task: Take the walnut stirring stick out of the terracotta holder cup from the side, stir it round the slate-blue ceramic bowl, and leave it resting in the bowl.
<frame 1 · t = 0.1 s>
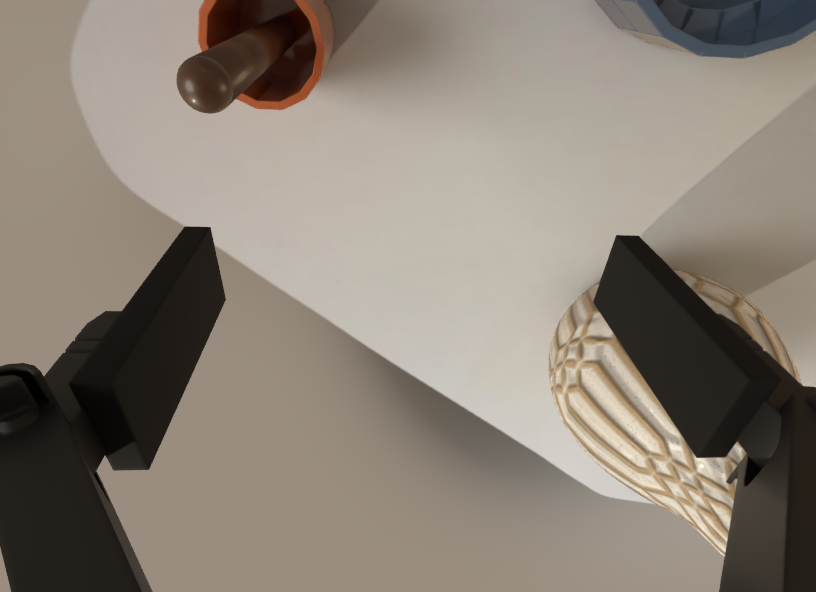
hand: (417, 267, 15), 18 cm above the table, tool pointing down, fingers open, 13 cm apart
vase: (615, 315, 41), on the table
holder: (285, 30, 27), on the table
stick: (284, 31, 26), point 1 cm above the table, touching holder
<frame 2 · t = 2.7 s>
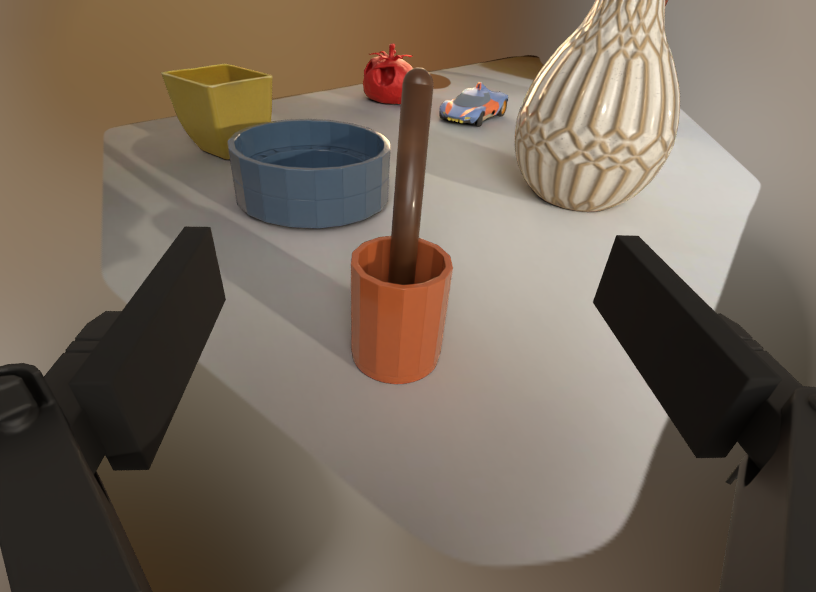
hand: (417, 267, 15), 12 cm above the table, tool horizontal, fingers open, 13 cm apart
vase: (572, 197, 53), on the table
holder: (395, 352, 30), on the table
flower pot: (230, 153, 58), on the table
toy car: (470, 118, 79), on the table
bowl: (314, 199, 48), on the table
stick: (395, 345, 29), point 1 cm above the table, tilted 15°, touching holder
pomegranate: (388, 101, 85), on the table
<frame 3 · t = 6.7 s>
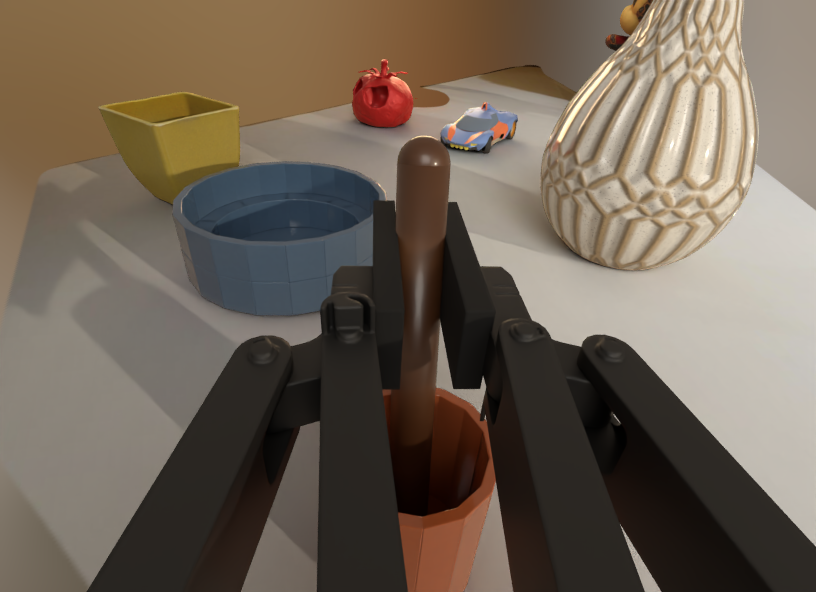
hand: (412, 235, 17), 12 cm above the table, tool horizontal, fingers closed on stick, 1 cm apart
vase: (610, 249, 43), on the table
stuffed monkey: (617, 127, 82), on the table
holder: (405, 549, 19), on the table
flower pot: (191, 199, 47), on the table
toy car: (475, 143, 69), on the table
bowl: (291, 265, 38), on the table
stick: (405, 544, 19), point 1 cm above the table, tilted 15°, touching gripper, holder
pomegranate: (381, 123, 75), on the table
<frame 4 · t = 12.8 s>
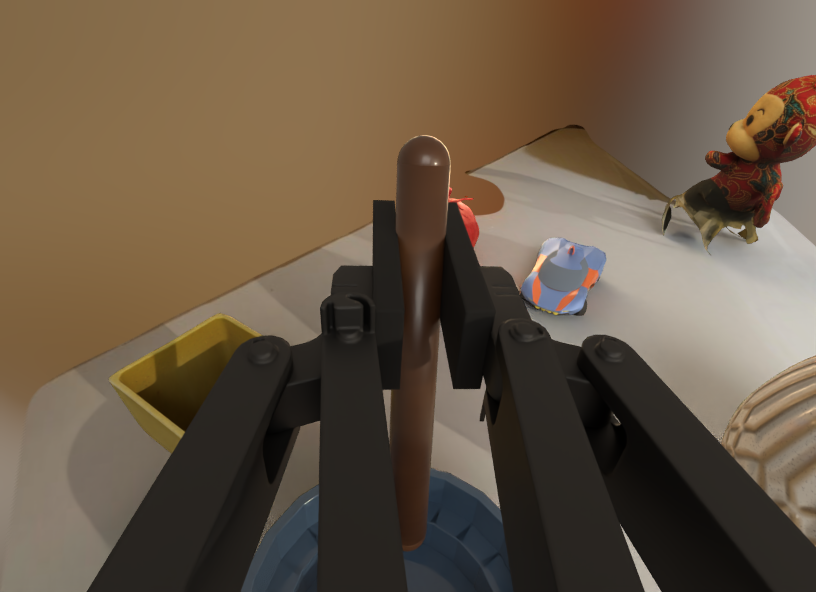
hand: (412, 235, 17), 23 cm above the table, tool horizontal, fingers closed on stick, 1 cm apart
vase: (809, 554, 32), on the table
stuffed monkey: (707, 244, 70), on the table
flower pot: (230, 453, 36), on the table
toy car: (558, 290, 57), on the table
stick: (406, 543, 19), point 12 cm above the table, tilted 15°, touching gripper
pomegranate: (438, 252, 63), on the table
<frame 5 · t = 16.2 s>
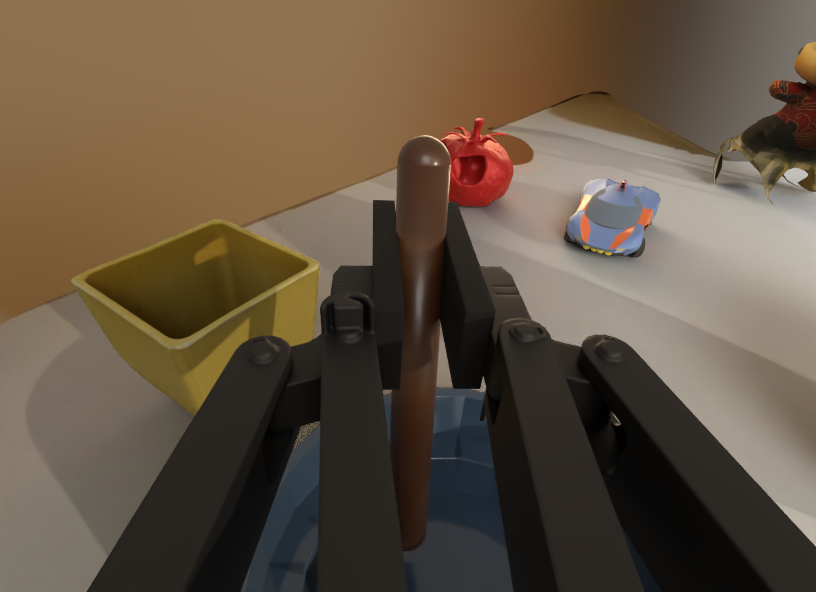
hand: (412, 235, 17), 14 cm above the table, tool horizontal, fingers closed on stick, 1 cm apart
stuffed monkey: (765, 194, 63), on the table
flower pot: (231, 393, 29), on the table
toy car: (605, 234, 50), on the table
stick: (406, 543, 19), point 3 cm above the table, tilted 15°, touching gripper
pomegranate: (466, 198, 56), on the table
when the fingers open (12 cm above the table, at t = 18.9 s): stick stays where it is and tips over, resting on bowl.
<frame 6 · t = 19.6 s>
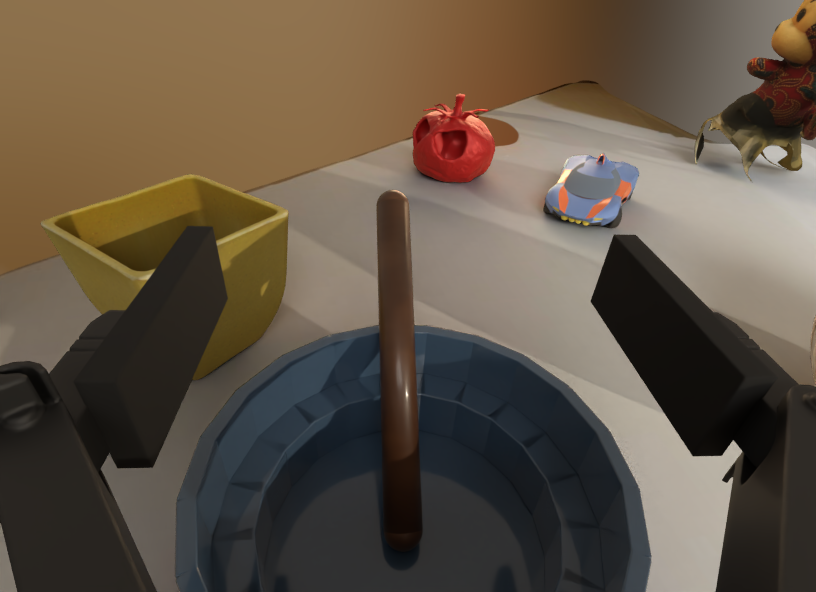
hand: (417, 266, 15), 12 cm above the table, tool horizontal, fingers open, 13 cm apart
stuffed monkey: (745, 173, 64), on the table
flower pot: (205, 347, 29), on the table
toy car: (585, 208, 51), on the table
bowl: (405, 548, 19), on the table
stick: (403, 551, 18), point 1 cm above the table, tilted 51°, touching bowl
pomegranate: (449, 175, 57), on the table
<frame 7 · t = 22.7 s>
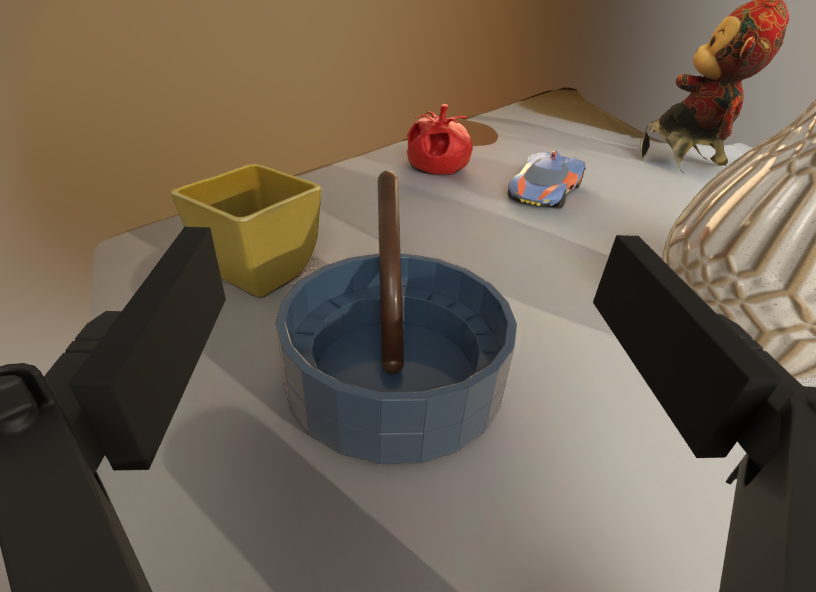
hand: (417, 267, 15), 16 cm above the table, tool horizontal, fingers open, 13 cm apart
vase: (736, 343, 39), on the table
stuffed monkey: (681, 167, 77), on the table
flower pot: (262, 280, 43), on the table
toy car: (542, 193, 64), on the table
bowl: (394, 377, 33), on the table
stick: (393, 374, 32), point 1 cm above the table, tilted 51°, touching bowl
pomegranate: (436, 169, 71), on the table
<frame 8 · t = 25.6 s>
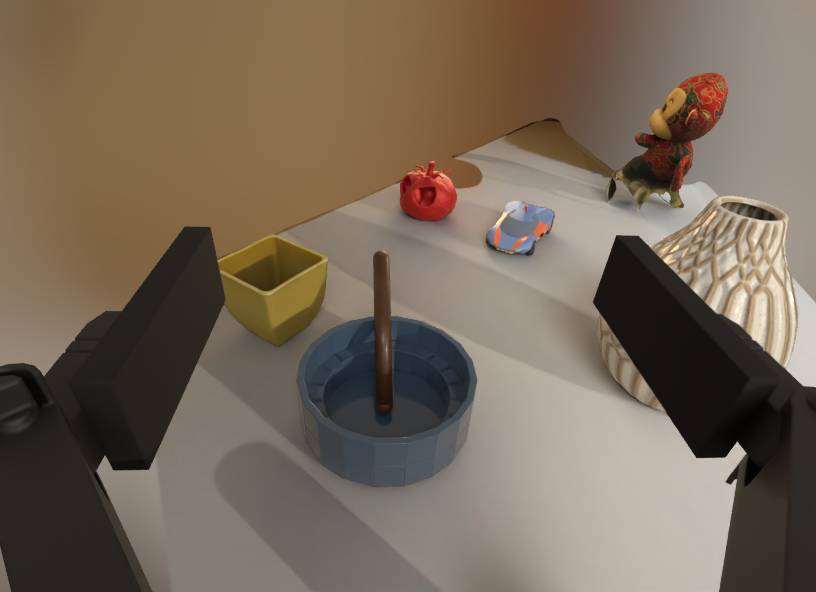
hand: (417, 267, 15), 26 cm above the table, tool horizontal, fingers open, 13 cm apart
vase: (658, 384, 49), on the table
stuffed monkey: (643, 210, 87), on the table
flower pot: (279, 329, 53), on the table
toy car: (516, 239, 74), on the table
bowl: (386, 416, 43), on the table
stick: (384, 414, 42), point 1 cm above the table, tilted 51°, touching bowl
pomegranate: (425, 214, 80), on the table
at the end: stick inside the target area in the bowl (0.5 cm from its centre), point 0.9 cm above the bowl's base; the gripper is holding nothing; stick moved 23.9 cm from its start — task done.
